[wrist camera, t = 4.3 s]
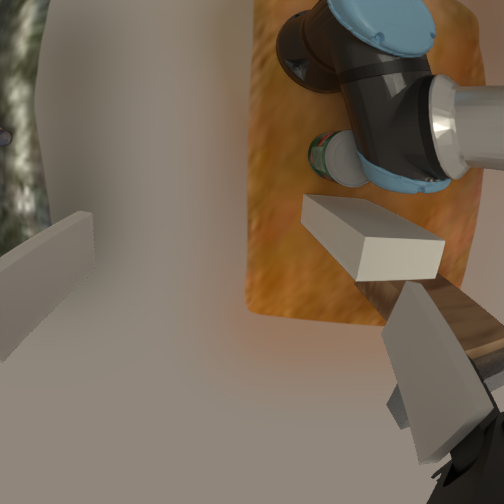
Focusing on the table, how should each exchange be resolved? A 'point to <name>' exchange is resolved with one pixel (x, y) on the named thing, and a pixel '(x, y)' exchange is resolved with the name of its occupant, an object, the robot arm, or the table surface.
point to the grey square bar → (490, 367)
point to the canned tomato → (337, 158)
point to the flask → (4, 137)
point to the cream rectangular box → (371, 239)
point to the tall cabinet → (444, 311)
